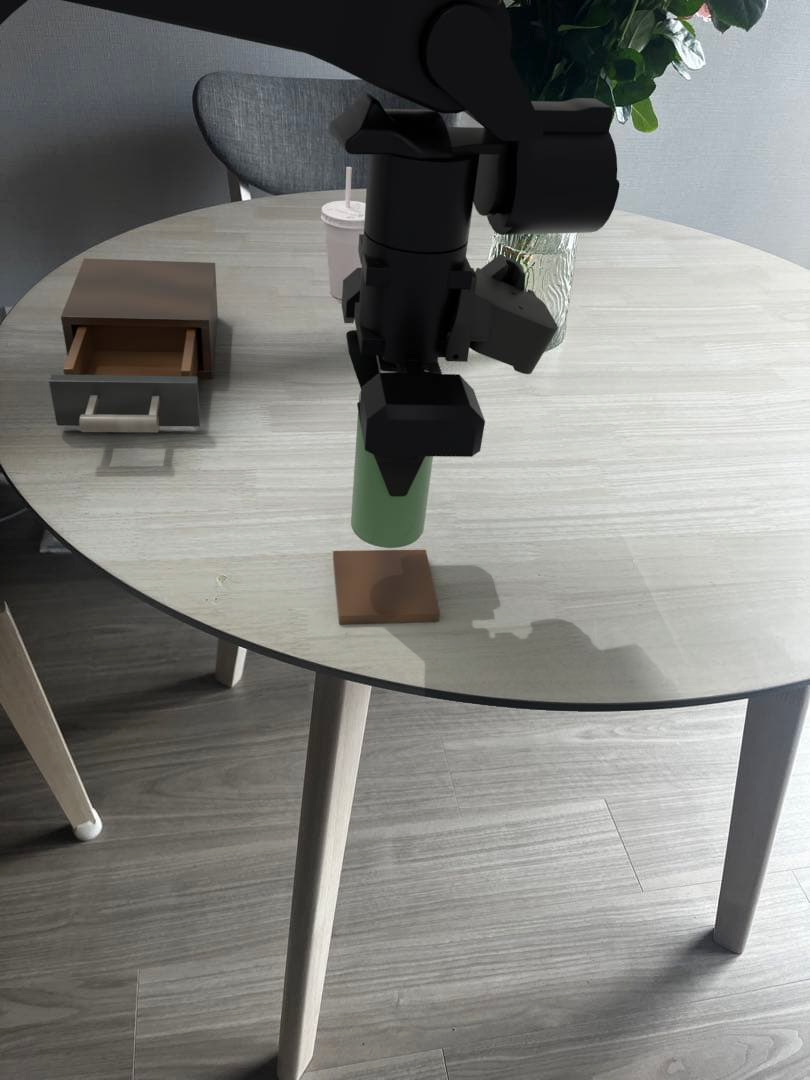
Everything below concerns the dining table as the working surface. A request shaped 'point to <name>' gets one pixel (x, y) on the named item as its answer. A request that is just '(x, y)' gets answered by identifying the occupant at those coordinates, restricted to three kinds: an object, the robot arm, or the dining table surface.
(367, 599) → the plate
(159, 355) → the drawer
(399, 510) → the green bottle
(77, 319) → the cabinet
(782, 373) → the dining table surface
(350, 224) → the smoothie
